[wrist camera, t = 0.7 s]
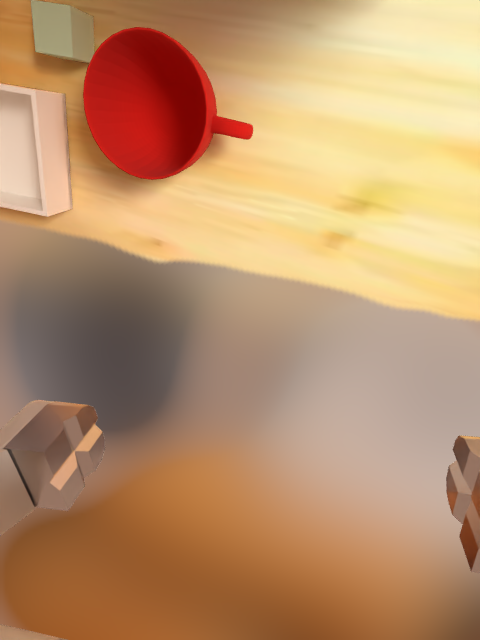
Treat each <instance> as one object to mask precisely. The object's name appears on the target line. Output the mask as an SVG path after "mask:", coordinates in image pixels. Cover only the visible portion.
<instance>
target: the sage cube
mask: <svg viewBox="0 0 480 640" xmlns="http://www.w3.org/2000/svg"><path fill="white" fill-rule="evenodd" d="M31 10H32V20H33V31H34V42H35V52H38V53H42V54H45V55H49V56H53V57H56V58H60V59H66V60H73V61H79V62H85V63H90V61H91V59H92V57H93V55H94V53H95V50H94V18H93V16H91V15H89V14H87V13H85V12H83V11H81V10H79V9H77V8H74V7H72V6H70V5H64V4H57V3H50V2H43V1H36V0H31Z"/></svg>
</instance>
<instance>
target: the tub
mask: <svg viewBox="0 0 480 640" xmlns="http://www.w3.org/2000/svg"><path fill="white" fill-rule="evenodd" d="M0 207H4V208H9V209H14V210H18V211H23V212H28V213H33V214H38V215H42V216H47V217H48V216H51V215H54V214H58V213H61V212H64V211H67V210H70V209H73V208H72V193H71V178H70V162H69V147H68V132H67V117H66V102H65V94H62V93H56V92H50V91H45V90H39V89H33V88H27V87H21V86H15V85H9V84H3V83H0Z"/></svg>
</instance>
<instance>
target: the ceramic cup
mask: <svg viewBox="0 0 480 640" xmlns="http://www.w3.org/2000/svg"><path fill="white" fill-rule="evenodd" d="M83 98H84V110H85V114H86V118H87V122H88V125H89V128H90V130H91V133H92V135H93V138H94V139H95V141H96V143H97V144H98V146H99V148H100V149H101V151H102V152H103V153H104V154H105V155H106V157H107V158H108V159H109V160H110V161H111V162H112V163H114V164H115V165H116V166H117V167H118V168H120V169H121V170H123V171H125V172H126V173H128V174H130V175H133V176H136V177H139V178H144V179H151V180H153V179H163V178H167V177H170V176H173V175H176V174H178V173H180V172H181V171H183V170H185V169H186V168H188V167H190V166H191V165H193V164H194V163H195V162H196V161H197V160H198V159H199V158H200V157H201V156H202V155H203V153H204V152H205V150H206V149H207V147H208V146H209V144H210V141H211V139H212V137H213V134H214V133H217V134H223V135H227V136H231V137H236V138H241V139H250V138H251V137H252V134H253V126H252V125H251V124H247V123H244V122H240V121H235V120H231V119H227V118H223V117H219V116H217V109H216V100H215V95H214V92H213V88H212V85H211V83H210V81H209V79H208V76H207V74H206V72H205V71H204V69H203V68H202V67H201V65H200V64H199V62H198V61H197V60H196V58H195V57H194V56H193V55H192V54H191V53H190V52H189V51H188V50H186V49H185V48H184V47H183V46H182V45H181V44H180V43H179V42H177V41H176V40H174V39H173V38H171V37H169V36H168V35H166V34H165V33H162V32H160V31H157V30H154V29H151V28H141V27H135V28H130V29H124V30H122V31H120V32H117V33H115V34H113V35H111V36H110V37H109V38H108V39H107V40H105V41H104V42H103V43H102V44H101V45H100V47H99V48H98V49H97V51H96V52H95V53H94V55H93V57H92V59H91V61H90V64H89V66H88V68H87V72H86V76H85V80H84V92H83Z"/></svg>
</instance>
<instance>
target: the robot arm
mask: <svg viewBox="0 0 480 640" xmlns="http://www.w3.org/2000/svg"><path fill="white" fill-rule="evenodd" d="M97 419H98V416H97V414H96V411H95V408H94V407H92V406H89V405H83V404H74V403H65V402H56V401H54V402H51V401H43V400H35V401H32V402H30V403H28V404H27V405H26V406H25V407H24V408H23V409H22V410H21V411H20V412H19V413H18V414H17V415H15V416H14V417H13V418H12V419H11V420H10V421H9V422H8V423H7V424H6V425H5V426H4V427H3V428H1V429H0V536H1V535H2V534H3V533H4V532H6V531H7V530H9V529H10V528H11V527H12V526H14V525H15V524H16V523H18V522H19V521H20V520H22V519H23V518H24V517H26V516H27V515H28V514H30V513H31V512H32V511H34V510H35V507H39V508H48V509H56V510H65V511H68V510H69V509H70V507H71V506H72V505H73V503H74V502H75V500H76V498H77V497H78V496H79V494H80V493H81V491H82V489H83V488H84V487H85V482H84V478H85V477H86V476H88V475H89V474H91V473H92V472H94V471H95V470H96V469H97V467H98V465H99V464H100V462H101V460H102V457H103V453H104V450H105V439H104V435H103V432H102V431H101V430H100V429H99V428H98V427H97V426H96V425H95V423H96V421H97ZM453 452H454V454H455V457H456V460H457V461H455V462H454V463H452V464H451V465H449V467H448V473H447V477H446V481H447V484H446V486H447V497H448V501H449V505H450V509H451V512H452V515H453V516H454V517H455V518H456V519H457V520H458V521H460V522H461V523H462V524H463V525H462V529H461V532H460V540H461V543H462V545H463V549H464V551H465V555H466V558H467V560H468V564H469V567H470V569H471V572H476V573H480V437H473V436H458V437H457V439H456V440H455V443H454V447H453ZM0 640H65V639H61V638H57V637H52V636H49V635H44V634H40V633H36V632H31V631H27V630H23V629H18V628H14V627H10V626H5V625H1V624H0Z"/></svg>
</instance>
